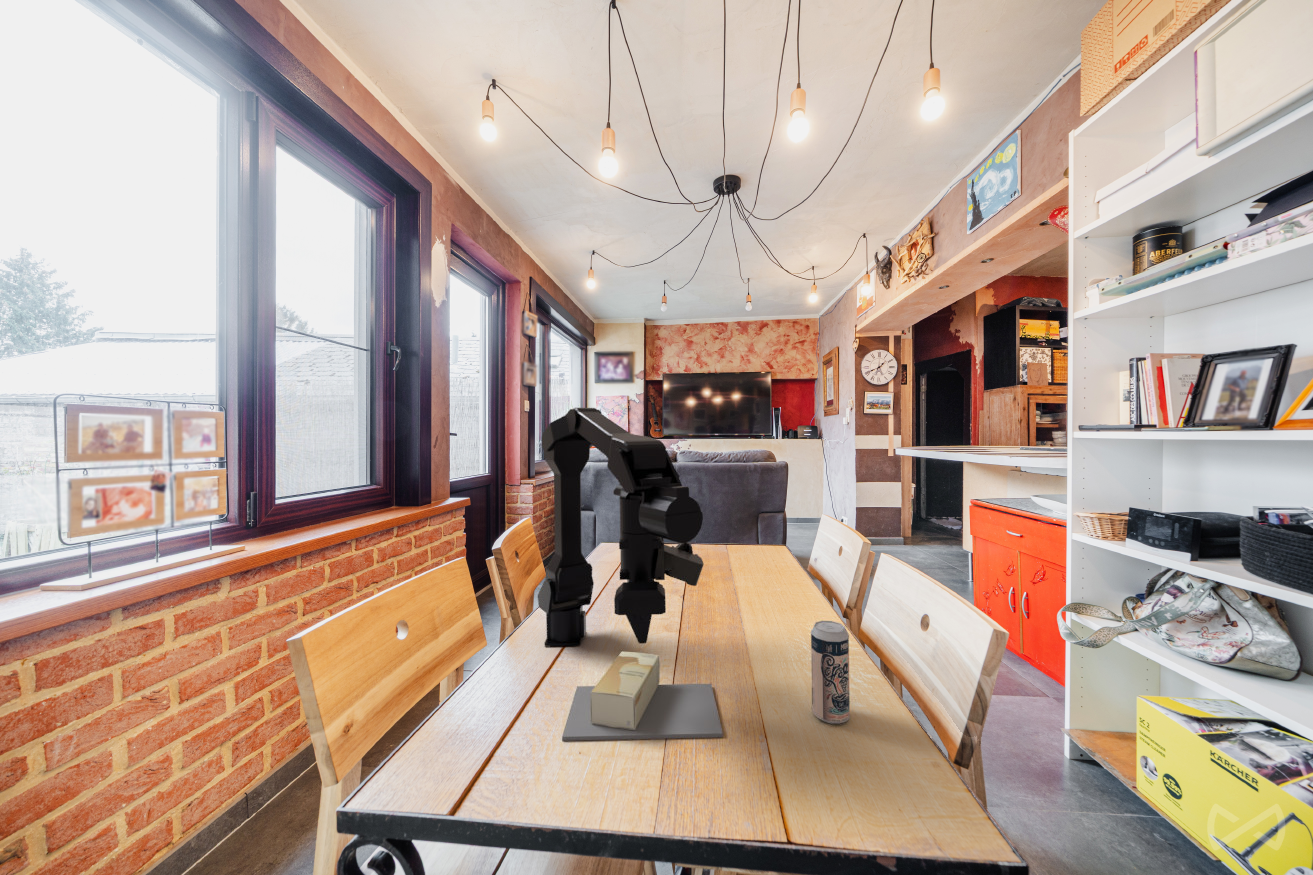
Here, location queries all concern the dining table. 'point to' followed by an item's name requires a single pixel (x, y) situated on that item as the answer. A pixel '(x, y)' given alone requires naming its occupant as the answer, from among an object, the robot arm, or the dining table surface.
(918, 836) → the dining table surface
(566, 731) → the mat
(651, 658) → the skincare box
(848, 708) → the beer can
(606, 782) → the dining table surface
